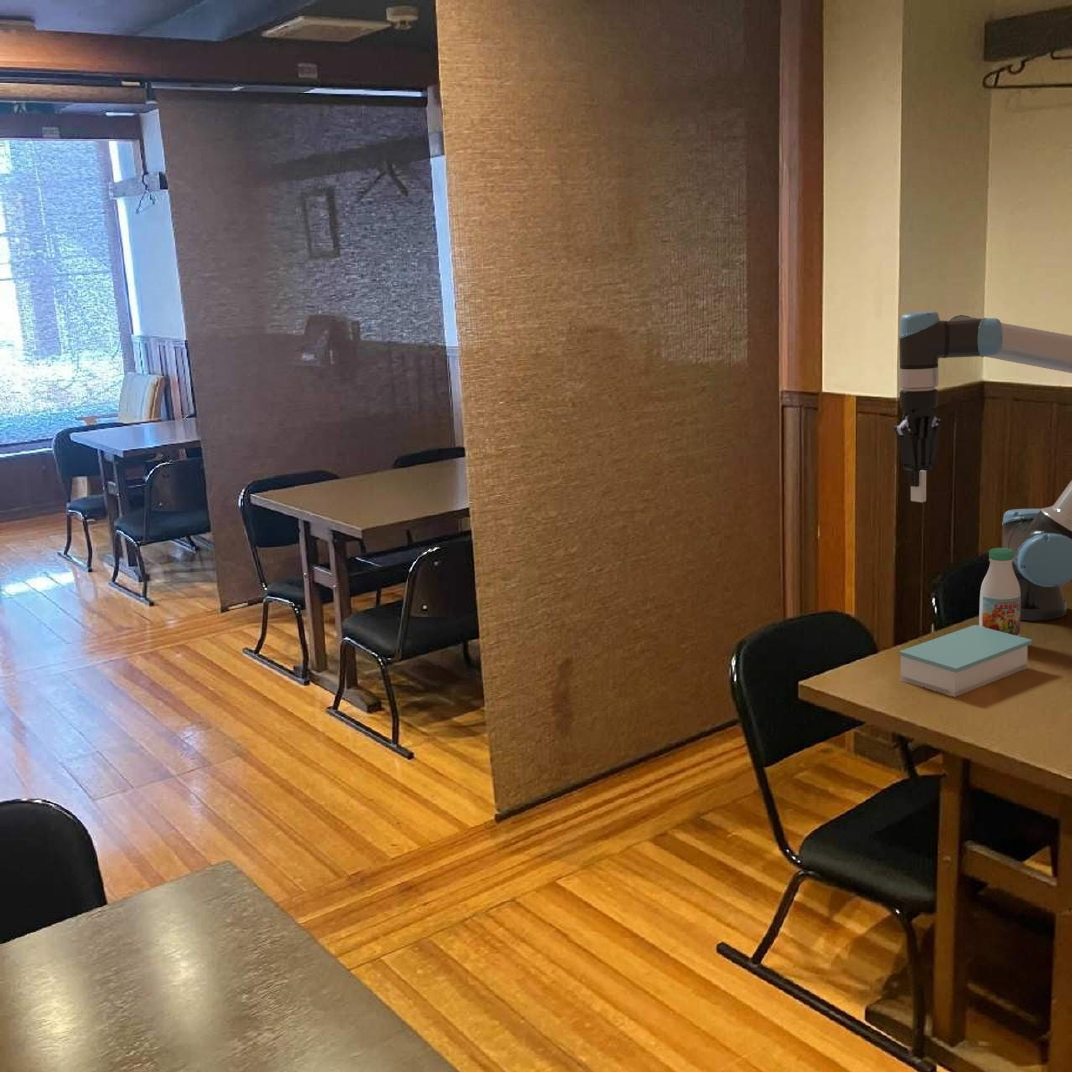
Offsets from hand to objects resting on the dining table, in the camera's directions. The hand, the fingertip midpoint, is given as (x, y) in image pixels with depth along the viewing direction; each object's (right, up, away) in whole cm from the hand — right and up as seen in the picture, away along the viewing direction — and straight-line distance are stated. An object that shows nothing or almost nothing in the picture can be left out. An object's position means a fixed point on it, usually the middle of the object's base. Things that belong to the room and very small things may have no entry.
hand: (918, 500), depth 241 cm
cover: (+1, -29, -23) cm, 37 cm away
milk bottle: (+14, -30, -7) cm, 34 cm away
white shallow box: (+2, -34, -22) cm, 40 cm away
